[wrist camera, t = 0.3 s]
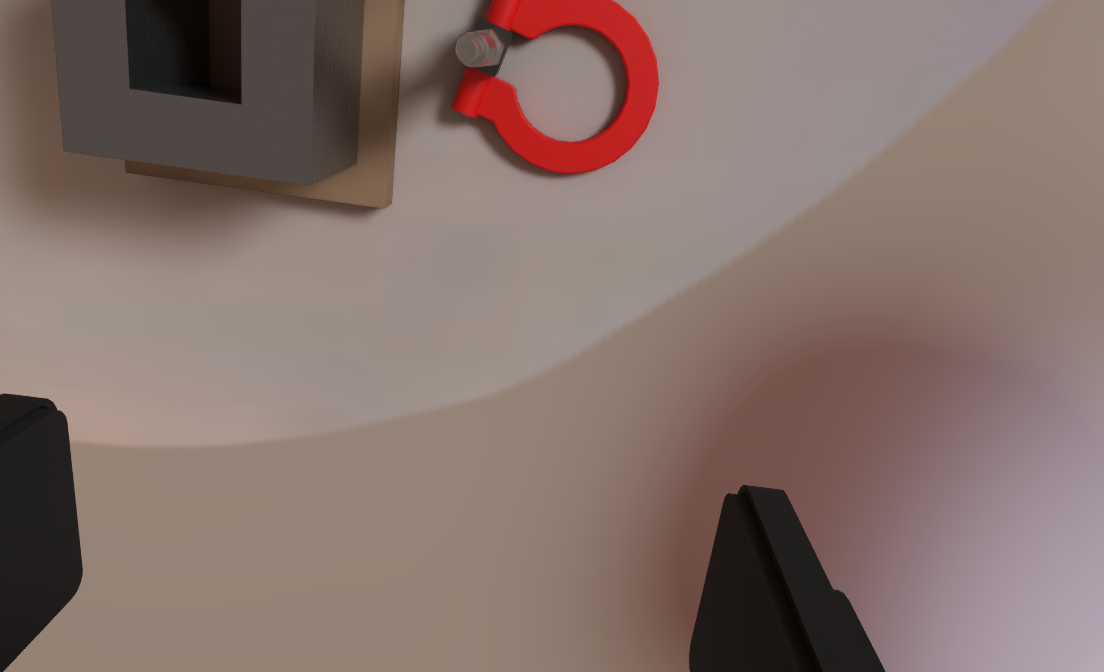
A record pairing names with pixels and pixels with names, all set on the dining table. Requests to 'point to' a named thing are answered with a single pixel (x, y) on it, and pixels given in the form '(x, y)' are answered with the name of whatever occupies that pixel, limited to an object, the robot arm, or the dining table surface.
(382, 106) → the mount plate
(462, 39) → the tow hook
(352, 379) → the dining table surface
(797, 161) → the dining table surface
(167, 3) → the hitch block
